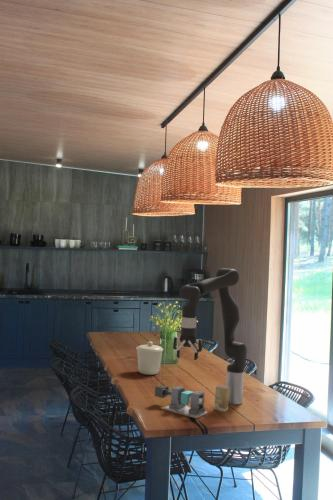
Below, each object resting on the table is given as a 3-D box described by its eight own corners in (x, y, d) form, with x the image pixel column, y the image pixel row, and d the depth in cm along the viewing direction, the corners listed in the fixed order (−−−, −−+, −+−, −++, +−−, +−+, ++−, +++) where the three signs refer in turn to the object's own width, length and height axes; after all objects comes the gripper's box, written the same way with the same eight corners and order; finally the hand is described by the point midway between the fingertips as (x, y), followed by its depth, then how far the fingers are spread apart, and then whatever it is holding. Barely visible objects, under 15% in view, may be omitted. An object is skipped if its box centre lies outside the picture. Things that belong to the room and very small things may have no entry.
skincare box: (213, 409, 266) (215, 386, 266) (217, 407, 269) (219, 384, 269) (224, 412, 262) (226, 388, 262) (228, 410, 266) (229, 386, 266)
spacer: (187, 401, 263) (187, 390, 263) (193, 402, 261) (194, 391, 261) (180, 403, 258) (181, 392, 258) (187, 405, 256) (187, 394, 256)
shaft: (154, 395, 269) (155, 386, 269) (160, 394, 273) (160, 384, 273) (198, 407, 252) (199, 397, 252) (204, 405, 256) (204, 395, 256)
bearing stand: (175, 404, 270) (176, 383, 270) (207, 413, 258) (208, 391, 259) (163, 409, 261) (164, 387, 261) (195, 418, 250) (197, 395, 250)
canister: (161, 377, 328) (163, 344, 328) (133, 375, 329) (135, 343, 329) (162, 370, 346) (164, 340, 346) (136, 369, 347) (137, 338, 347)
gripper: (204, 326, 253) (202, 359, 253) (176, 324, 257) (175, 356, 257) (200, 328, 245) (199, 362, 245) (172, 325, 250) (171, 358, 250)
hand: (187, 359), depth 251 cm, fingers open, 8 cm apart
